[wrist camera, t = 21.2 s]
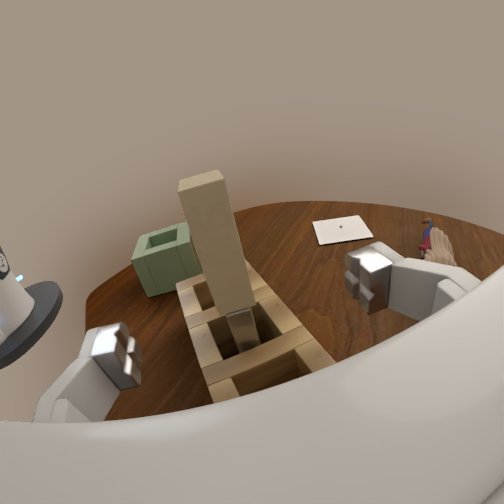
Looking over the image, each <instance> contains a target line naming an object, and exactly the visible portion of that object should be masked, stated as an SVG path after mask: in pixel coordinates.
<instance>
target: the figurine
mask: <svg viewBox="0 0 504 504" xmlns="http://www.w3.org/2000/svg"><path fill="white" fill-rule="evenodd" d="M425 223H429V228H427V229H426V230H425V232H424V233H423V238H424V245H419V246H418V248H419V250H420V252H421V257H422V260H424V261H429V262H434V263H440V264H445V265H450V266H455V267H457V263H456V262H455V261H454V254H453V251H452V245H451V243H450V242H449V240H448V237H447V236H446V235H444V233H443V231H442V230H439V229H438V228H437V227H436V228H435V229H434V228H433V224H432V219H431V218H428V219H423V220H422V224H425Z"/></svg>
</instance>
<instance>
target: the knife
mask: <svg viewBox="0 0 504 504" xmlns="http://www.w3.org/2000/svg"><path fill="white" fill-rule="evenodd" d="M178 195H179V198H180V201H181V205H182V208H183V211H184V214H185V218H186V220H187V224H188V227H189V230H190V233H191V237H192V240H193V243H194V246H195V249H196V252H197V255H198V258H199V261H200V264H201V266H202V269H203V272H204V275H205V278H206V281H207V284H208V286H209V289H210V292H211V295H212V298H213V300H214V303H215V306H216V309H217V311H218V314H219V316H221V315H224V314H226V318H227V321H228V323H229V326H230V329H231V332H232V334H233V337H234V340H235V343H236V345H237V348H238V351H239V353H243V352H245V351H247V350H250V349H252V348H254V347H257V346H259V345H261V343H260V340H259V336H258V333H257V329H256V325H255V322H254V318H253V315H252V311H251V308H250V307H251V306H254V305H256V302H255V298H254V294H253V290H252V286H251V282H250V278H249V274H248V270H247V267H246V263H245V259H244V255H243V251H242V247H241V243H240V239H239V235H238V231H237V227H236V223H235V219H234V215H233V211H232V207H231V203H230V200H229V195H228V191H227V187H226V183H225V180H224V178H223V176H222V175H221V174H220V172H219V171H218V170H214V171H210V172H206V173H203V174H199V175H196V176H192V177H189V178H185V179H182V180H180V182H179V189H178Z"/></svg>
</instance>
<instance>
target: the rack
mask: <svg viewBox="0 0 504 504" xmlns="http://www.w3.org/2000/svg"><path fill="white" fill-rule="evenodd" d="M244 259H245V258H244ZM245 263H246V267H247V270H248V274H249V278H250V282H251V286H252V290H253V294H254V298H255V302H256V305H254V306H251V307H250V308H251V311H252V315H253V318H254V322H255V325H256V329H257V333H258V336H259V340H260V343H261V345H259V346H257V347H254V348H252V349H250V350H247V351H245V352H243V353H239V351H238V348H237V345H236V343H235V340H234V337H233V334H232V332H231V329H230V326H229V323H228V321H227V318H226V314H224V315H221V316H219V314H218V311H217V309H216V306H215V303H214V300H213V298H212V295H211V292H210V289H209V286H208V284H207V281H206V278H205V275H204V273H202V274H199V275H197V276H194V277H192V278H189V279H186V280H184V281H181V282H178V283H176V284H175V285H176V289H177V292H178V296H179V300H180V303H181V307H182V310H183V313H184V317H185V320H186V323H187V327H188V330H189V333H190V336H191V340H192V343H193V346H194V349H195V352H196V355H197V358H198V361H199V364H200V367H201V369H202V373H203V375H204V378H205V381H206V384H207V386H208V389H209V392H210V395H211V397H212V400H213V403H218V402H222V401H226V400H230V399H234V398H237V397H241V396H244V395H248V394H251V393H255V392H258V391H261V390H264V389H268V388H271V387H274V386H277V385H280V384H283V383H286V382H289V381H291V380H294V379H297V378H300V377H303V376H305V375H308V374H310V373H313V372H316V371H318V370H321V369H323V368H326V367H328V366H331V365H333V364H336V362H335V361H334V360H333V359H332V358H331V356H330V355H329V354H328V353H327V352H326V351H325V350H324V349H323V347H322V346H321V345H320V344H319V343H318V342H317V341H316V340H315V339H314V337H313V336H312V335H311V334H310V333H309V332H308V331H307V329H306V328H305V327H304V326H303V325H302V324H301V322H300V321H299V320H298V319H297V318H296V317H295V316H294V314H293V313H292V312H291V311H290V310H289V309H288V308H287V306H286V305H285V304H284V303H283V302H282V301H281V300H280V298H279V297H278V296H277V295H276V294H275V293H274V292H273V291H272V289H271V288H270V287H269V286H268V285H267V284H266V283H265V281H264V280H263V279H262V278H261V277H260V276H259V275H258V273H257V272H256V271H255V270H254V269H253V268H252V267H251V265H250V264H249V263H248V262H247V261H246V259H245Z"/></svg>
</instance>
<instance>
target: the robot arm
mask: <svg viewBox="0 0 504 504" xmlns="http://www.w3.org/2000/svg"><path fill="white" fill-rule="evenodd" d="M344 265H345V266H346V267H347V268H348V269H347V271H346V273H345V275H344V278H345V285H346V288H347V290H348V292H349V294H350V295H351V296H352V297H353V298H355V299H358V300H359V305H360V306H361V308H362V309H363V310H364V311H365V312H366V313H367V314H368V315H371V314H373V313H375V312H378V311H380V310H382V309H385V308H387V307H388V308H389V309H391V310H393V311H396V312H398V313H401V314H403V315H406V316H408V317H411V318H413V319H415V320H418V321H420V322H419V323H417V324H415V325H413V326H412V327H410V328H408V329H406V330H404V331H403V332H401V333H399V334H397V335H395V336H393V337H391V338H389V339H387V340H385V341H383V342H381V343H379V344H377V345H375V346H373V347H371V348H369V349H367V350H365V351H363V352H361V353H358V354H356V355H354V356H352V357H349V358H347V359H345V360H343V361H340V362H338V363H336V364H333V365H331V366H328V367H326V368H323V369H321V370H318V371H316V372H313V373H310V374H308V375H305V376H303V377H300V378H297V379H294V380H291V381H289V382H286V383H283V384H280V385H277V386H274V387H271V388H268V389H264V390H261V391H258V392H255V393H251V394H248V395H244V396H241V397H237V398H234V399H230V400H226V401H222V402H218V403H214V404H210V405H206V406H201V407H197V408H192V409H187V410H182V411H177V412H172V413H166V414H160V415H154V416H147V417H140V418H132V419H124V420H114V421H104V419H105V417H106V416H107V414H108V412H109V411H110V409H111V407H112V405H113V404H114V402H115V400H116V399H117V397H118V395H119V393H120V391H121V390H126V389H131V388H136V387H140V381H141V372H140V370H139V369H138V368H139V367H140V365H141V364H142V352H141V349H140V346H139V344H138V342H137V341H136V339H135V338H133V337H131V336H129V333H130V329H129V328H128V326H127V325H126V323H124V322H119V323H115V324H110V325H106V326H102V327H97V328H94V329H90V330H88V331H87V333H86V336H85V339H84V342H83V344H82V347H81V350H80V353H79V357H78V359H77V360H74V361H73V362H72V363H71V364H70V365H69V366H68V368H67V369H66V370H65V371H64V372H63V373H62V374H61V375H60V376H59V377H58V378H57V379H56V381H55V382H54V383H53V384H52V385H51V386H50V387H49V388H48V389H47V391H46V392H45V393H44V394H43V395H42V396H41V397H40V398H39V400H38V403H37V406H36V410H35V413H34V417H33V420H32V423H29V422H15V421H4V420H0V504H504V265H503V266H502V267H500V268H499V269H498V270H497V271H495V272H494V273H493V274H491V275H490V276H489V277H488V278H486V279H485V280H483V281H482V282H481V281H480V280H479V279H477V278H476V277H474V276H473V275H472V274H470V273H469V272H467V271H466V270H465V269H463V268H460V267H455V266H450V265H445V264H440V263H434V262H429V261H424V260H419V259H413V258H406V259H405V258H404V257H402V256H401V255H399V254H398V253H397V252H395V251H394V250H392V249H391V248H389V247H388V246H386V245H385V244H384V243H382V242H376V243H373V244H371V245H368V246H366V247H363V248H361V249H358V250H355V251H353V252H350V253H347V254H345V255H344ZM20 279H22V275H21V276H19V277H17V278H15V276H14V275H13V273H12V272H11V270H10V268H9V265H8V262H7V260H6V257H5V255H4V253H3V251H2V249H1V247H0V345H1V344H2V343H3V342H4V341H5V340H6V338H7V337H8V336H9V335H10V334H11V333H13V332H14V331H15V330H16V329H17V328H18V327H19V326H20V325H21V324H22V323H23V322H24V321H25V320H26V318H27V317H28V316H29V314H30V313H31V311H32V309H33V307H34V304H35V301H34V299H33V298H32V297H31V296H30V295H29V294H28V293H27V292H26V291H25V290H24V289H23V287H22V286H21V285H20V283H19V282H18V281H19V280H20Z"/></svg>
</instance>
